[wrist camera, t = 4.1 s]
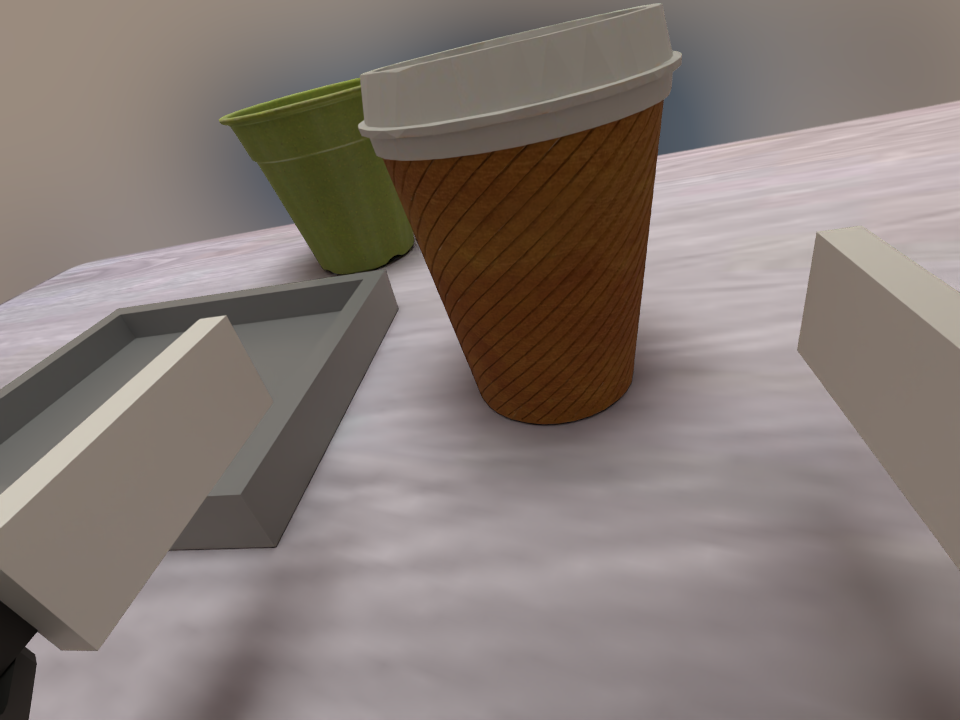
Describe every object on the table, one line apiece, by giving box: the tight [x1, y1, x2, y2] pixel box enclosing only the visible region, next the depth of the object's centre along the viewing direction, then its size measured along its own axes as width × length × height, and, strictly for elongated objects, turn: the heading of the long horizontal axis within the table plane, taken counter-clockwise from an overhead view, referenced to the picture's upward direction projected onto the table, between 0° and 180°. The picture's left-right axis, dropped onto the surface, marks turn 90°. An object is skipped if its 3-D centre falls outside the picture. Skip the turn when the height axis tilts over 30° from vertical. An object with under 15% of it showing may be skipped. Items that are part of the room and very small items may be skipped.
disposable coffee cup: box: [358, 3, 682, 424], centre depth 18 cm, size 10×10×12 cm
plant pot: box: [219, 78, 414, 274], centre depth 35 cm, size 12×12×11 cm
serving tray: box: [0, 269, 398, 550], centre depth 24 cm, size 18×16×2 cm
